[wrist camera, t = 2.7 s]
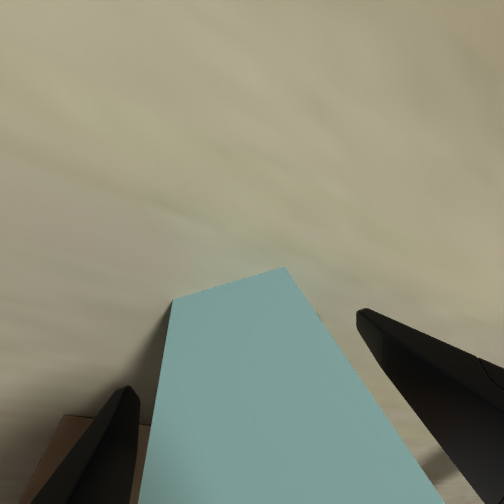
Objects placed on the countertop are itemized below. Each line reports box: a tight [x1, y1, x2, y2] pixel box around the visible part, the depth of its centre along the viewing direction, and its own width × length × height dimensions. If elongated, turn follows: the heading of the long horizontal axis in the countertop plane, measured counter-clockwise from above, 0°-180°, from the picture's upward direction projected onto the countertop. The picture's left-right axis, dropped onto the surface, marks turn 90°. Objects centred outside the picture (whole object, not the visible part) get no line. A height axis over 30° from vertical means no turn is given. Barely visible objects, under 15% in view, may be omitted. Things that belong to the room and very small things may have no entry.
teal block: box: [138, 267, 445, 504], centre depth 7 cm, size 5×5×7 cm
